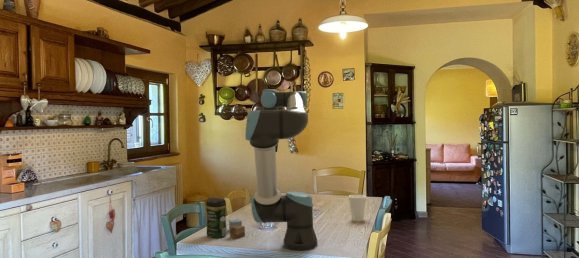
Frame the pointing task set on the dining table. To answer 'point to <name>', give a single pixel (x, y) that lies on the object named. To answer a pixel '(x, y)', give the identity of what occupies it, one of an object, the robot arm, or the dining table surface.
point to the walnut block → (237, 231)
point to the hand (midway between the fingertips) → (271, 165)
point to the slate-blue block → (234, 223)
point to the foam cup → (357, 207)
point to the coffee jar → (216, 217)
